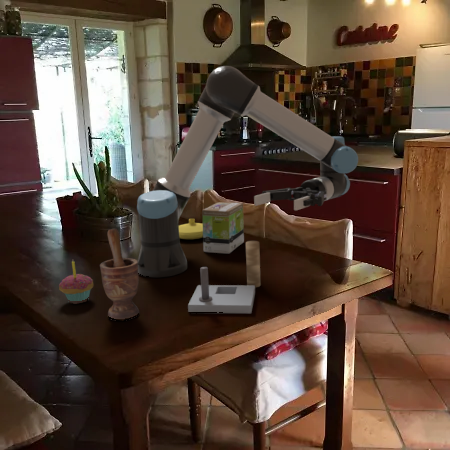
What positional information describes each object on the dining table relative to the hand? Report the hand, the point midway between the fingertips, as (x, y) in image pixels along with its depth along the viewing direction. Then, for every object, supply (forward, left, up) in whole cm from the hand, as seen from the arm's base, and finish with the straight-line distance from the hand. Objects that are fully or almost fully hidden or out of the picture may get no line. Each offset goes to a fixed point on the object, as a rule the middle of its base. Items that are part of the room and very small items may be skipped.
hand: (274, 203), depth 132 cm
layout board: (-13, -20, -21) cm, 32 cm away
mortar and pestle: (-37, -27, -21) cm, 50 cm away
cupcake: (-51, -20, -21) cm, 58 cm away
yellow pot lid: (-33, +43, -21) cm, 58 cm away
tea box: (-19, +29, -21) cm, 41 cm away
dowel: (-6, -8, -21) cm, 23 cm away
